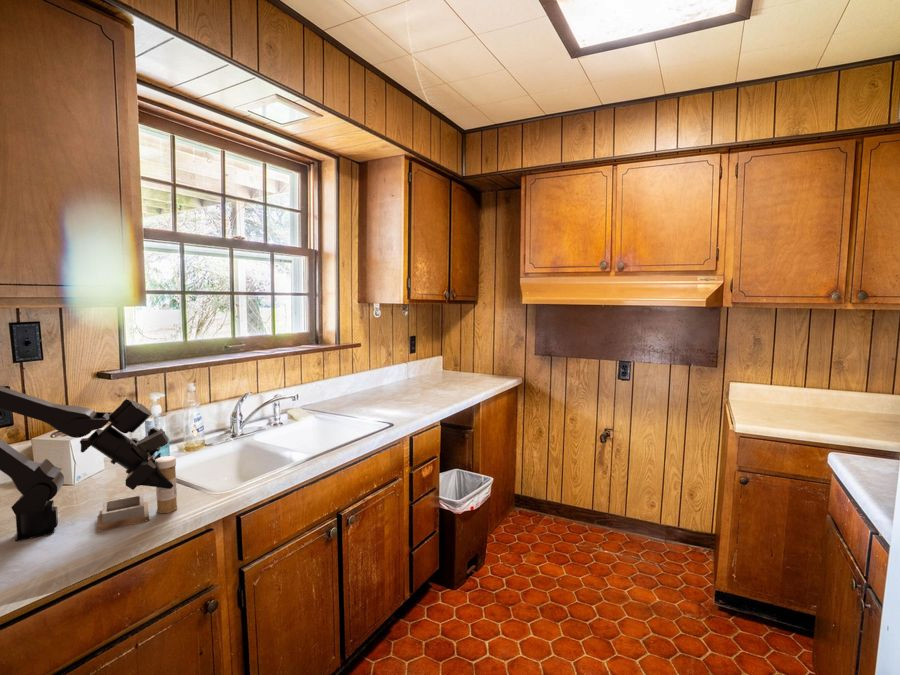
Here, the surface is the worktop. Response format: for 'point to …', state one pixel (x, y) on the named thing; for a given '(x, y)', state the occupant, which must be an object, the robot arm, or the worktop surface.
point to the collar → (122, 509)
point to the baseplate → (123, 522)
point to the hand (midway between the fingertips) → (172, 483)
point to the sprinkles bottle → (164, 495)
